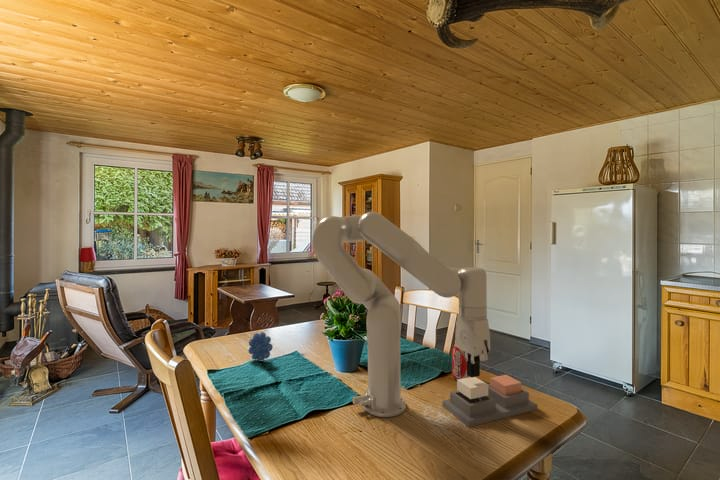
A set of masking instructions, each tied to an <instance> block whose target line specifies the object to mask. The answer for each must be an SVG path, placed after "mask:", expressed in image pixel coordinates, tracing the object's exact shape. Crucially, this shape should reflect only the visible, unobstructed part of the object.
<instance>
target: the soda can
mask: <svg viewBox="0 0 720 480" xmlns="http://www.w3.org/2000/svg"><path fill="white" fill-rule="evenodd" d="M451 351H452V352H451V374H452V378H453V379H455V380H456V381H457V380H458V379H463V378H468V377H470V376H468V375H467V362H468V361H466V360H465V354H464V352H463V351H462V350H460V349H459V348H458V347H457V346H456V344H455V342H454V344H453V347H452V348H451Z"/></svg>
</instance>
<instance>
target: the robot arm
mask: <svg viewBox="0 0 720 480" xmlns="http://www.w3.org/2000/svg"><path fill="white" fill-rule="evenodd" d="M359 242H368V243H370V244H371V245H372V246H374V247H375V248H376V249H378V250H379V251H380V252H382V253H383V254H384V255H385V256H387V257H388V258H390V260H392V261H393V262H395V263H396V265H398V266H399V267H400V268H402V269H403V270H405V271H406V272H407V273H409V274H410V275H412V276H413V277H414V278H415V279H416V280H417V281H419V282H420V283H422V284H423V285H424V286H426V288H428V289H430V290H431V291H432V292H434V293H435V294H437V295H438V296H440V297H441V298H446V299H449V298H450V299H451V298H453V297H455V296H456V295H458V313H457V316H456V322H455V337H454V338H455V342H454V343H455V344H456V346H457V347H458V348H459V349H460V350H462V351H463V352H464V354H465V360H466V361H468V362H467V375H468V376H470V377H471V378H472V377H476V378H478V377H480V375H481V374H480V373H481V369H480V368H481V366H480V364H481V363H482V362H486V361H488V360H489V357H488V355H490V352H491V335H490V333H491V332H490V326H489V321H488V311H487V310H488V307H487V305H488V299H487V296H488V294H487V292H488V291H487V290H488V289H487V288H488V287H487V280H488V279H487V271H486V270H485V269H484V268H482V267H474V266H472V267H471V266H470V267H462V268H461V267H452V266H451V267H450V266H447V265H445V264H444V263H443V262H441V261H440V260H439V259H438V258H436V257H434V256H433V255H432V254H431V253H429V251H428V250H426V249H425V248H424V247H423V246H422V245H421V244H420V243H419V242H418V241H417V240H415V239H414V238H413V237H411V235H409V234H408V233H406V232H405V231H403V229H401V228H399V227H398V226H397V225H396V224H394V223H393V222H391V221H390V220H389V219H387V218H386V217H385V216H384V215H383V214H381V213H379V212H376V211H367V212H366V213H364V214H359V215H358V214H357V215H347V216H346V215H345V216H337V215H336V216H334V215H330V216H326V217H324V218H322V219H321V220H320V221H318V223H317V224H316V227H315V229H314V231H313V234H312V249H313V253H314V255H315V258H316V259H317V261H318V263H320V265H321V266H322V268H323V269H324V270H325V271H326V272H327V274H329V276H330V277H331V279H332V280H333V281H334V283H336V285H337V286H338V287H339V288H340V289H341V290H342V292H343V293H344V295H346V297H347V298H348V299H349V301H351V302H353V303H355V304H359V305H361V304H362V305H363V306H364V307H365V309H366V310H367V314H366V335H367V336H366V337H367V388H368V389H365V391H364V393H363V394H362V395H356V396H353V397H352V398H351V399H352V403H353V405H357V404H359V406H360V407H362V408H363V410H364V411H365V412H366V413H368V414H370V415H372V416H374V417H379V418H391V417H397V416H399V415H401V414H402V413H404V412H405V410H406V408H407V402H406V400H405V399H404V398H403V397H402V396H401V395H402V393H401V392H402V391H401V387H402V386H401V385H402V384H401V383H402V382H401V311H402V310H401V309H402V308H401V305H400V302H399V300H398V299H397V297H396V296H395V295H394V294H393V293H392V292H391V290H390V289H389V288H388V287H387V286H386V285H385V283H384V282H383V281H382V280H381V279H380V278H379V276H377V274H375V273H374V272H373V271H372V270H371V269H368V268H363V267H361V265H359V263H358V262H357V261H356V260H355V259H354V257H353V256H352V254H350V253H349V252H348V251H347V250H346V249H345V247H344V245H343V244H349V243H359Z"/></svg>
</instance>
